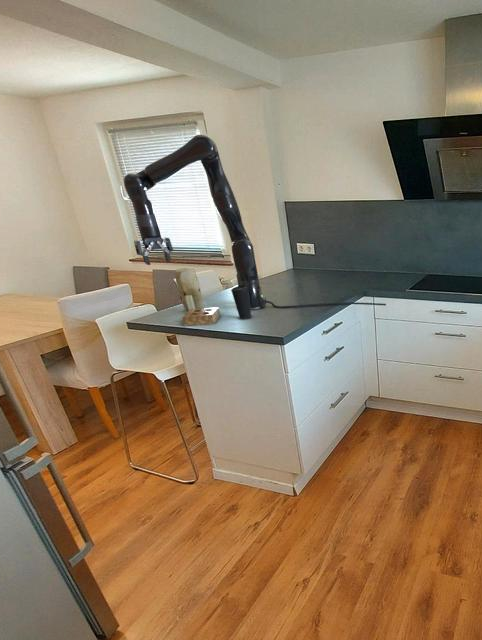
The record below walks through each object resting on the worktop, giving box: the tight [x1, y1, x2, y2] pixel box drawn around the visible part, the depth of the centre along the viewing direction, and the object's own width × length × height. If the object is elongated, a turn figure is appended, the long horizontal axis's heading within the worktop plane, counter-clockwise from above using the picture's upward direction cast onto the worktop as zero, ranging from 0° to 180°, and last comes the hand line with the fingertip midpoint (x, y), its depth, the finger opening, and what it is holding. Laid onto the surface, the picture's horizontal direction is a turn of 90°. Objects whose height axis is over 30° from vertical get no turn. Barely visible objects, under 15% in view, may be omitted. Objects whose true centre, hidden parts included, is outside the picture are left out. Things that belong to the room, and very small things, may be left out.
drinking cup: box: [230, 273, 252, 320], centre depth 171 cm, size 8×8×20 cm
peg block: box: [181, 307, 221, 327], centre depth 171 cm, size 12×12×4 cm
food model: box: [174, 267, 205, 311], centre depth 183 cm, size 10×7×20 cm
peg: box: [185, 295, 195, 311], centre depth 178 cm, size 2×2×9 cm
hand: (158, 263), depth 171 cm, fingers open, 8 cm apart
